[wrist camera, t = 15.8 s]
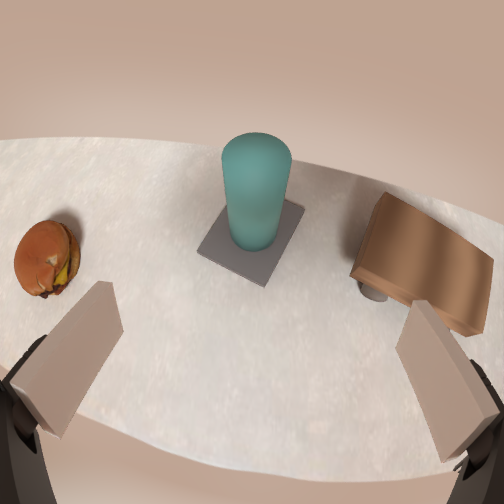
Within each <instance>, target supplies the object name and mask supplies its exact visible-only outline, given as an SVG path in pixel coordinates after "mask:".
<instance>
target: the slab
mask: <svg viewBox="0 0 504 504" xmlns="http://www.w3.org/2000/svg"><path fill="white" fill-rule="evenodd" d="M493 262H494V259H493V258H491V257H490V256H488V255H487V254H486V253H484V252H483V251H481V250H480V249H479V248H477V247H476V246H474V245H473V244H471V243H470V242H468V241H467V240H466V239H464V238H463V237H461V236H460V235H458V234H456V233H455V232H453V231H452V230H450V229H449V228H447V227H446V226H444V225H442V224H441V223H439V222H438V221H436V220H434V219H433V218H431V217H429V216H428V215H426V214H424V213H423V212H421V211H419V210H418V209H416V208H414V207H412V206H411V205H409V204H407V203H405V202H404V201H402V200H400V199H398V198H396V197H395V196H393V195H391V194H389V193H387V192H384V194H383V195H382V197H381V198H380V200H379V201H378V202H377V204H376V205H375V208H374V211H373V214H372V216H371V219H370V222H369V225H368V228H367V231H366V234H365V236H364V239H363V242H362V244H361V247H360V250H359V252H358V255H357V258H356V260H355V263H354V265H353V268H352V270H351V273H350V275H349V276H350V277H352V278H354V279H356V280H358V281H360V282H362V283H363V285H362V288H361V290H360V291H361V293H362V294H363V295H364V296H365V297H367V298H368V299H371V300H373V301H377V302H385V301H386V300H387V298H388V296H389V297H391V298H393V299H395V300H397V301H399V302H401V303H403V304H404V305H406V306H408V307H410V308H411V306H412V303H413V300H427V301H428V302H429V304H430V305H431V306H432V308H433V309H434V310H435V312H436V313H437V314H438V316H439V317H440V318H441V320H442V321H443V322H444V324H445V325H446V327H447V328H448V329H449V331H450V329H452V330H454V331H455V332H457V333H459V334H461V335H463V336H465V337H469V336H473V335H477V334H481V333H483V330H484V325H485V320H486V315H487V309H488V303H489V297H490V290H491V282H492V273H493Z"/></svg>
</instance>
